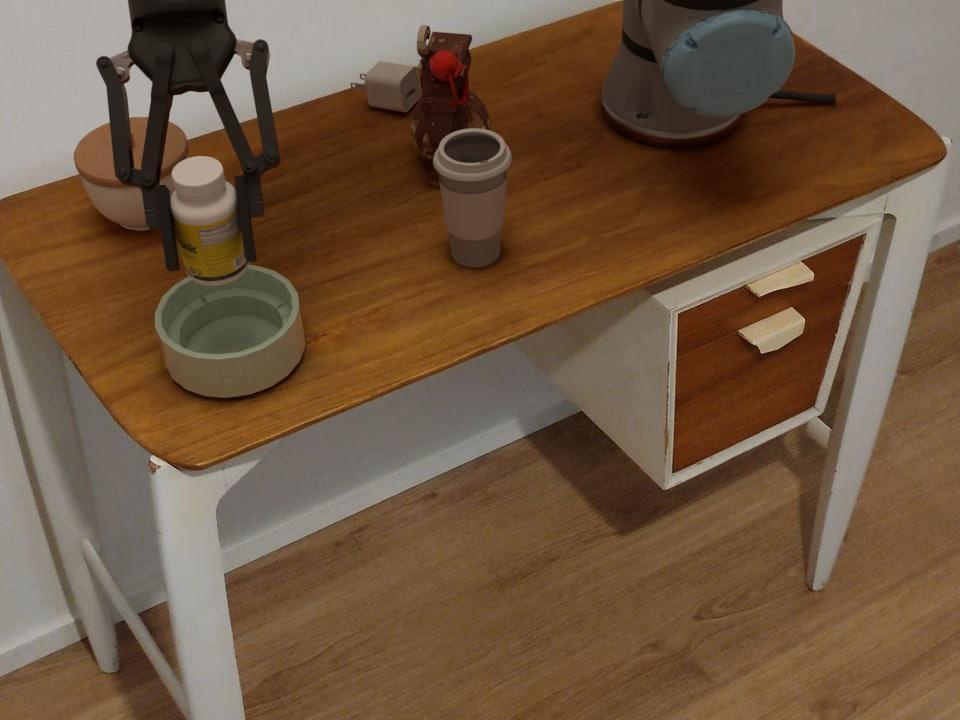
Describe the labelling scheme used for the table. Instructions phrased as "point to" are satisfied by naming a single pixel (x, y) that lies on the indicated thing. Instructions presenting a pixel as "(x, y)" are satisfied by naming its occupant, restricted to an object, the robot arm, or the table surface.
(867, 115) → the table surface
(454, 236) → the cup
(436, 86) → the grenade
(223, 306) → the sage bowl
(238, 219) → the supplement bottle
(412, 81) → the usb wall charger
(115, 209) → the trinket box
